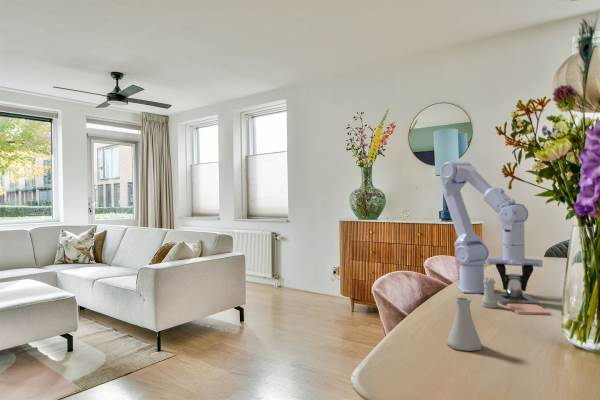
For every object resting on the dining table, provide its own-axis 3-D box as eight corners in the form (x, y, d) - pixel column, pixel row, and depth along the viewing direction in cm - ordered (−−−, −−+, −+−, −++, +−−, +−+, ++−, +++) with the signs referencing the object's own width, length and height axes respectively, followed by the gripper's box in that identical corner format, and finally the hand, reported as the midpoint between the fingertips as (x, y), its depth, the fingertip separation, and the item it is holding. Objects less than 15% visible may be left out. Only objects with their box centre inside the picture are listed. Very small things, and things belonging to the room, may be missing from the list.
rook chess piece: (500, 308, 110) (499, 280, 110) (483, 308, 111) (482, 279, 111) (495, 304, 114) (495, 277, 114) (479, 303, 115) (478, 276, 115)
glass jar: (505, 292, 121) (504, 273, 121) (522, 293, 119) (521, 274, 119) (506, 296, 117) (506, 276, 117) (524, 297, 115) (523, 277, 115)
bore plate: (491, 296, 124) (491, 293, 124) (526, 296, 122) (526, 294, 122) (502, 304, 114) (502, 301, 114) (539, 305, 112) (539, 302, 112)
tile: (507, 305, 113) (506, 303, 113) (537, 306, 111) (537, 304, 111) (517, 313, 105) (517, 311, 105) (550, 314, 104) (550, 312, 104)
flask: (442, 339, 88) (441, 294, 88) (476, 340, 87) (475, 294, 87) (450, 351, 81) (449, 303, 81) (487, 352, 80) (486, 303, 80)
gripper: (487, 245, 117) (488, 290, 117) (544, 246, 111) (544, 294, 112) (486, 242, 124) (487, 285, 124) (539, 244, 118) (540, 289, 118)
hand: (514, 289), depth 118 cm, fingers closed on glass jar, 4 cm apart
